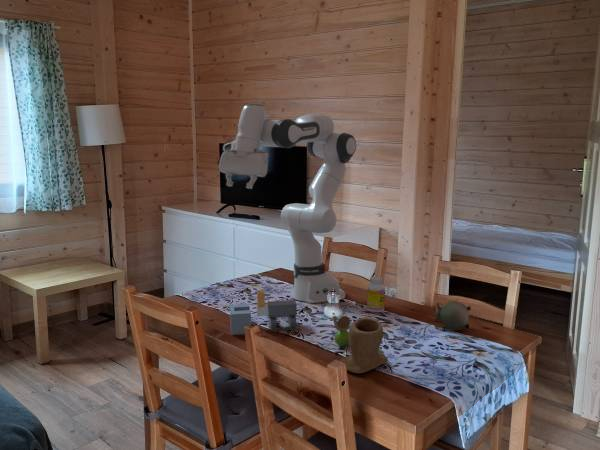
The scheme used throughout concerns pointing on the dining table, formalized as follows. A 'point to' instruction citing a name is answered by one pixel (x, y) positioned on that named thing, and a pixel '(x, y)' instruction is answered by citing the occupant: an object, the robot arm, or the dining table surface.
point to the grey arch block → (282, 313)
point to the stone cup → (365, 346)
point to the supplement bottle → (376, 295)
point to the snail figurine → (342, 330)
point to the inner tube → (261, 304)
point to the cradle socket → (239, 318)
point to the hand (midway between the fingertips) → (239, 187)
